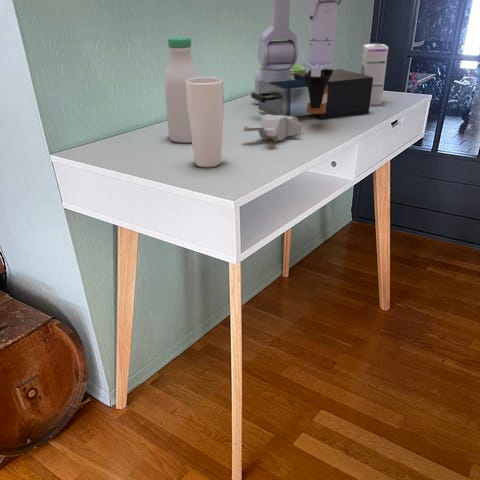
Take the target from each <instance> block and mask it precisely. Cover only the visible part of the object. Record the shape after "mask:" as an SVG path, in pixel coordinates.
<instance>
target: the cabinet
mask: <svg viewBox="0 0 480 480" xmlns="http://www.w3.org/2000/svg"><path fill="white" fill-rule="evenodd" d="M332 70H333V73H332V75H331V77H330V79H329V81H328V84H327V85H328V91H327V103H326V112H325V113H323V114H309V116H310V117H314V118H317V119H319V120H326V119H327V120H328V119H336V118H342V117H350V116H351V117H352V116H359V115H366V114H367V115H368V114H369V113H370V99H371V92H372V84H373V77H370V76H366V75H362V74H361V73H359V72H358V73H357V72H354V71H350V70H346V69H342V68H338V69H332ZM305 74H309V73H308V71H305V72H304V73H294V79H299V78H300V79H303V80H305V77H304V76H305Z"/></svg>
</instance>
